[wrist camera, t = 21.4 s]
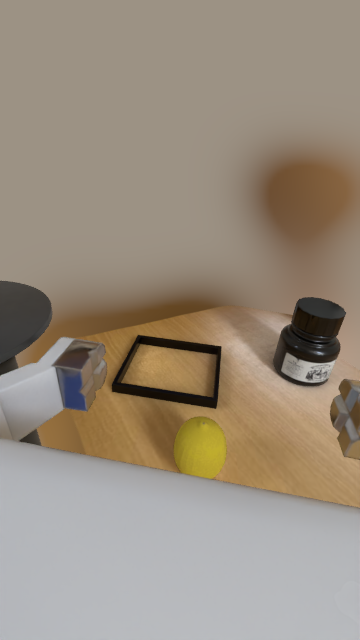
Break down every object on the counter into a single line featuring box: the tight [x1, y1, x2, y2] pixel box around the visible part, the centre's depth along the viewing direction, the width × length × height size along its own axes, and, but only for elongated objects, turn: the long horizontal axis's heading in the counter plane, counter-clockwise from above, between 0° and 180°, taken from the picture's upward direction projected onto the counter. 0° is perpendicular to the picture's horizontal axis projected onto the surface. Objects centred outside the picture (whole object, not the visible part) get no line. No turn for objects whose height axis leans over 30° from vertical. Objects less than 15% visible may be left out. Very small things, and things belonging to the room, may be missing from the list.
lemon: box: [174, 417, 227, 479], centre depth 30 cm, size 6×6×8 cm
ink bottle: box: [273, 297, 346, 386], centre depth 46 cm, size 10×9×12 cm
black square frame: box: [112, 335, 221, 409], centre depth 47 cm, size 15×13×2 cm
